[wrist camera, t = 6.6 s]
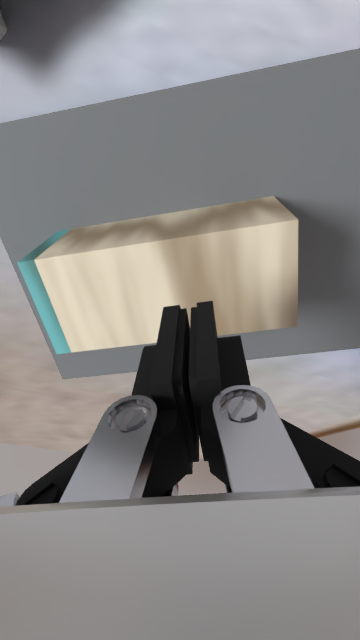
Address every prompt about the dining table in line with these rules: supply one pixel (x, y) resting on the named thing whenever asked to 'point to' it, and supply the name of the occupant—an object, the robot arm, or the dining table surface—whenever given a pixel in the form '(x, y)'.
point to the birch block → (166, 274)
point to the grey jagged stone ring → (2, 27)
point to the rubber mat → (205, 183)
